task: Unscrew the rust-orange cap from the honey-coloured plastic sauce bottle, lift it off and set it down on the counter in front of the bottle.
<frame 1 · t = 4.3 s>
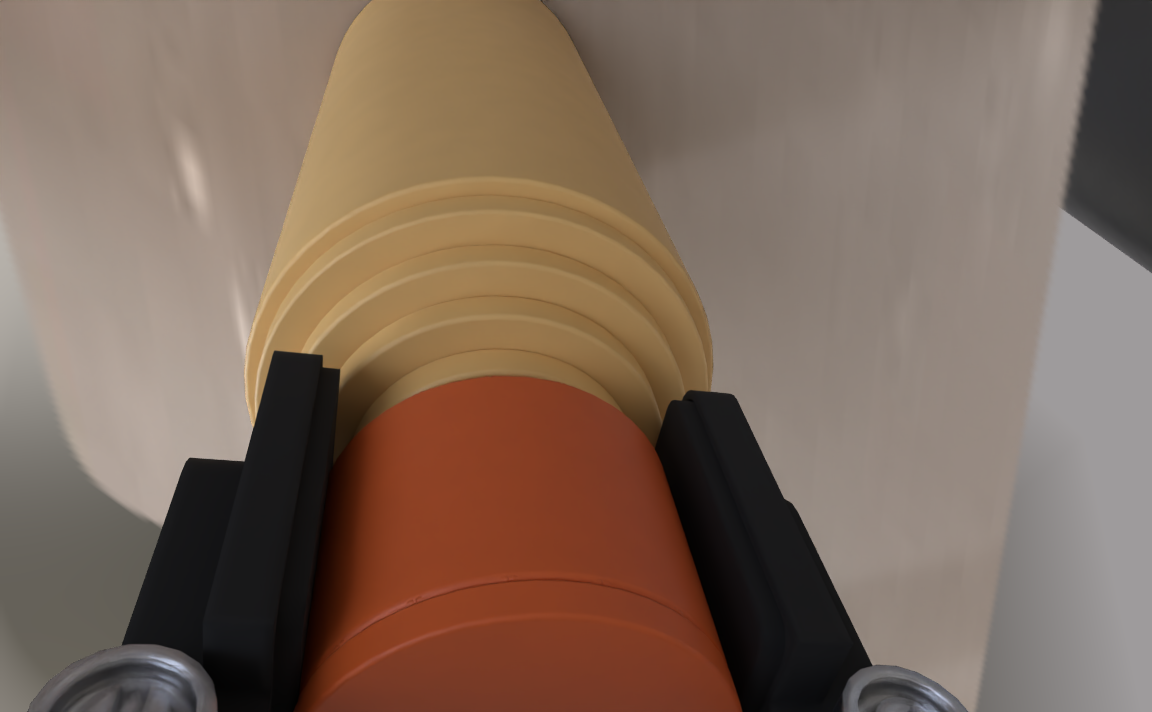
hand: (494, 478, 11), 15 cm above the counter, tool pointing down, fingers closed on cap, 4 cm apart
sauce bottle: (460, 102, 24), on the counter
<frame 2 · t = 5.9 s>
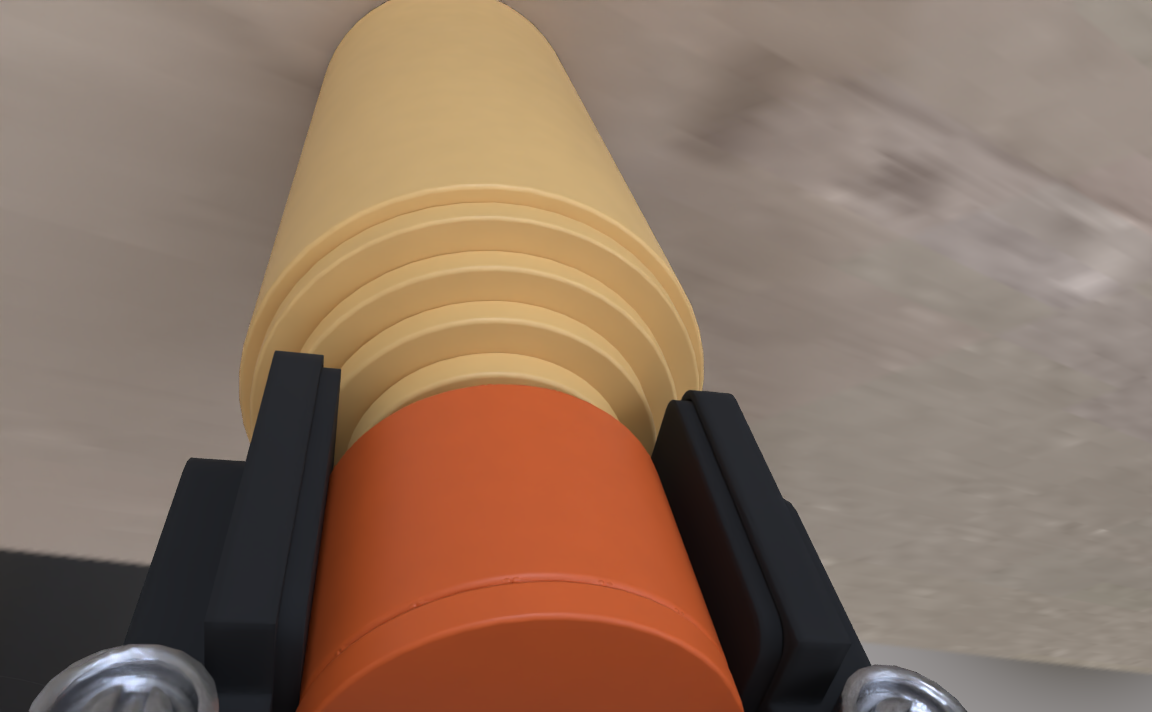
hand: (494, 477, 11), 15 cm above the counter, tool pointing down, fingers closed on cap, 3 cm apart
sauce bottle: (449, 120, 24), on the counter
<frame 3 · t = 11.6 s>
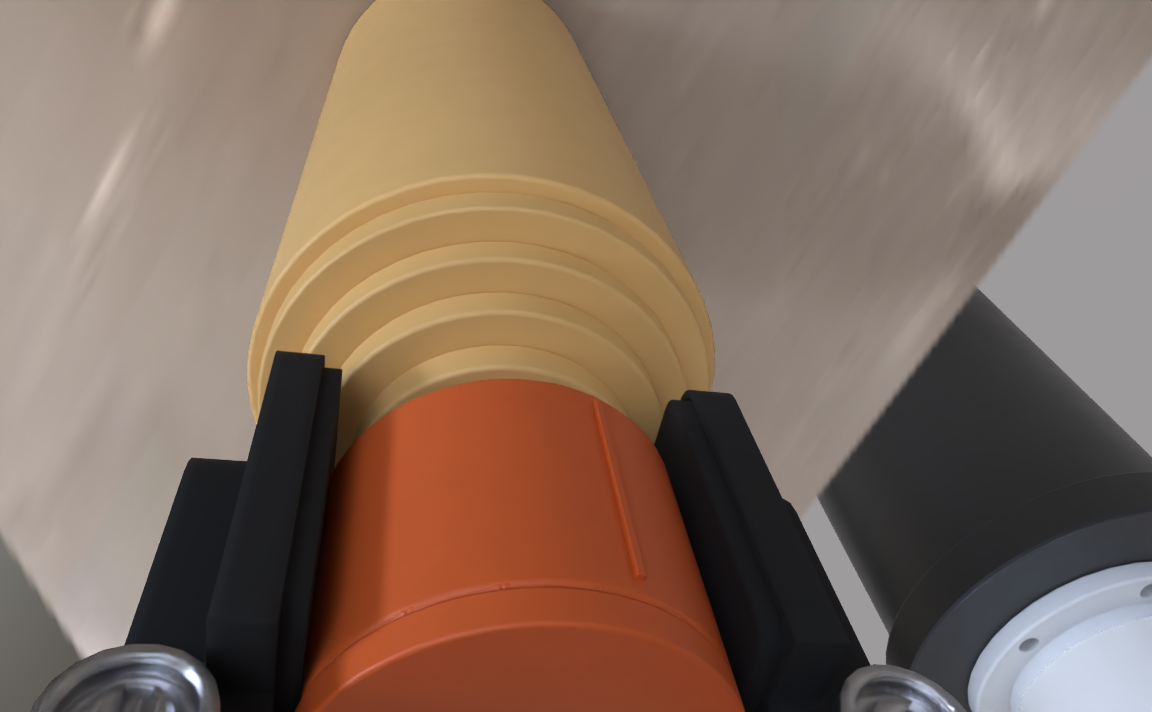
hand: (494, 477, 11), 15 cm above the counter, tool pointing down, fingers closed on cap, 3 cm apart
sauce bottle: (463, 103, 24), on the counter
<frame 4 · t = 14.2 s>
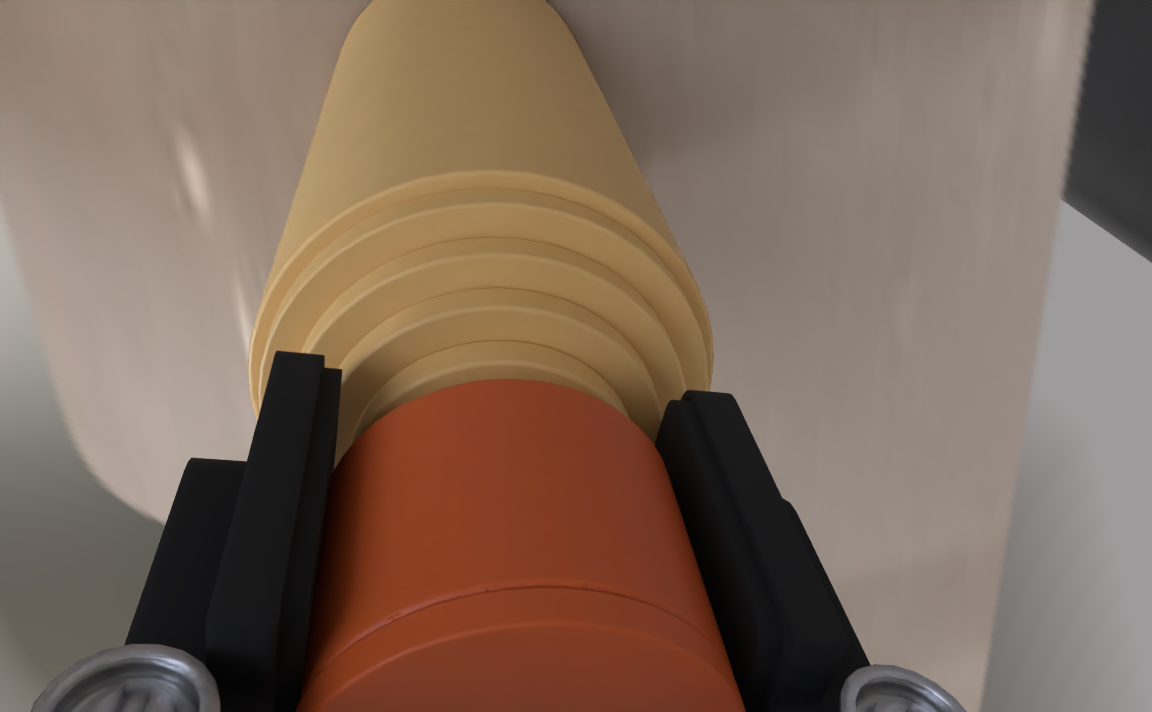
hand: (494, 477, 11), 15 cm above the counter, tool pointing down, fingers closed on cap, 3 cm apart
sauce bottle: (463, 100, 24), on the counter
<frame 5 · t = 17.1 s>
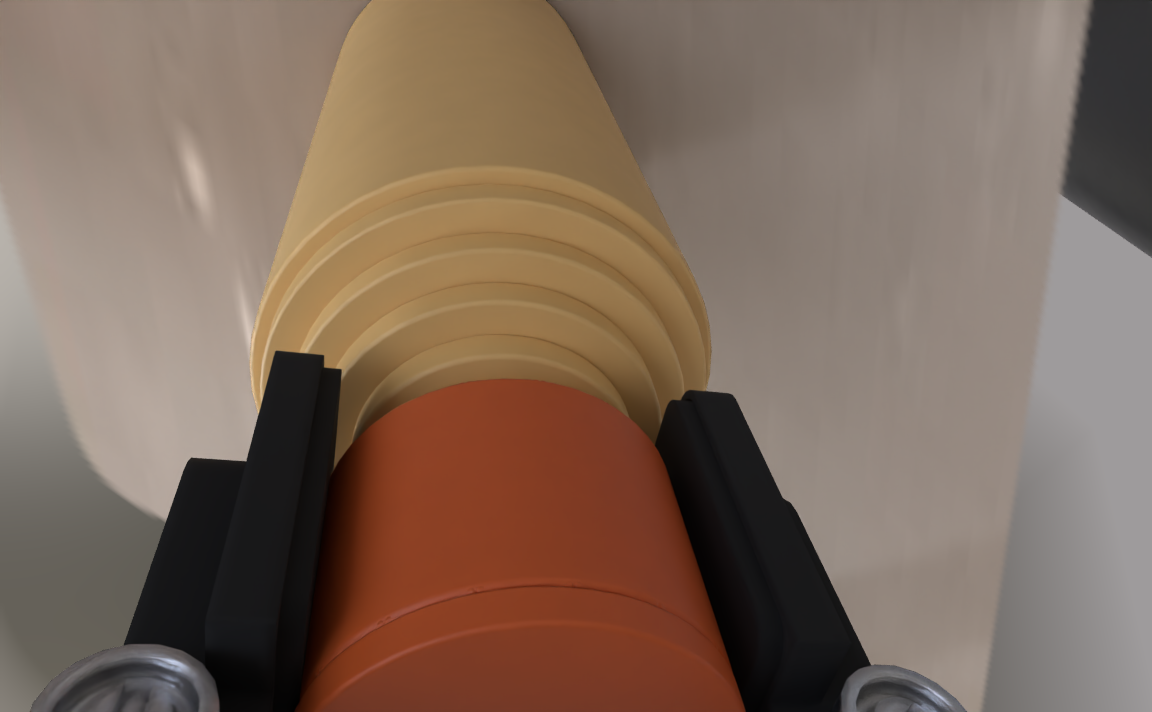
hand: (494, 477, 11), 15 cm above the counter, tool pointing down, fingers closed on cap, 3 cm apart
sauce bottle: (463, 98, 24), on the counter
when the fingers open (1 cm above the counter, at t = 26.2 s): cap drops 2 cm, point 3 cm above the counter.
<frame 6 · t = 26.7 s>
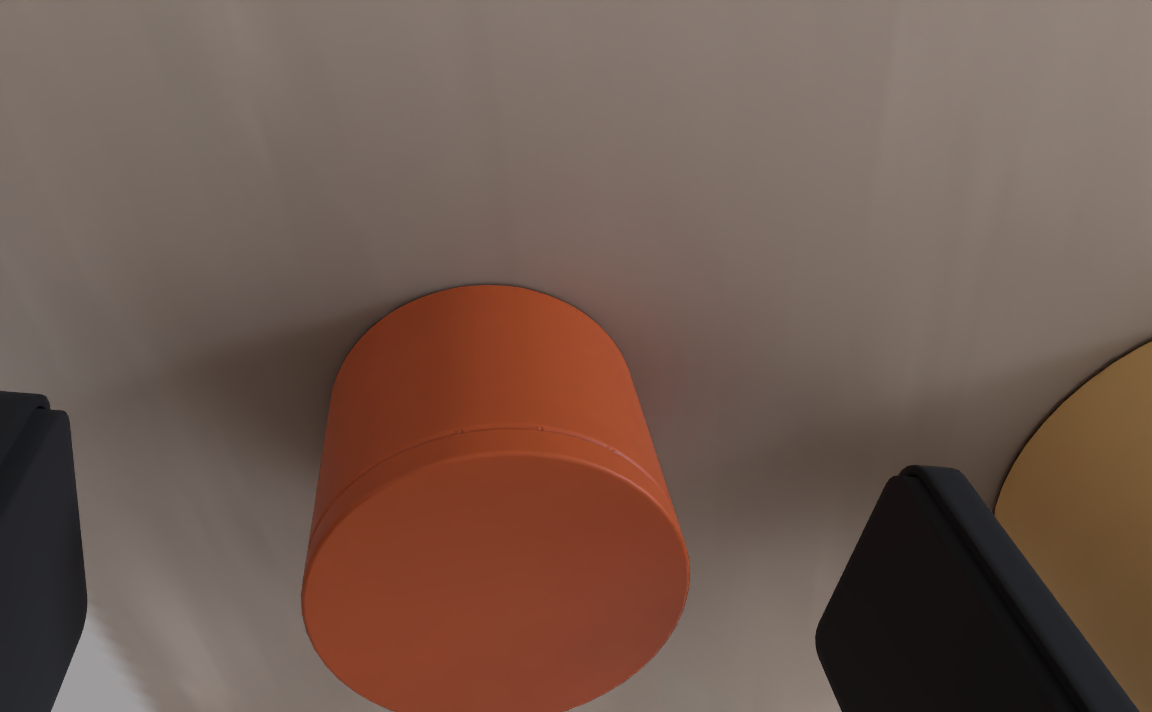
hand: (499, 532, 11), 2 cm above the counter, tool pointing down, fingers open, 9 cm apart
cap: (498, 576, 10), point 3 cm above the counter, off its thread
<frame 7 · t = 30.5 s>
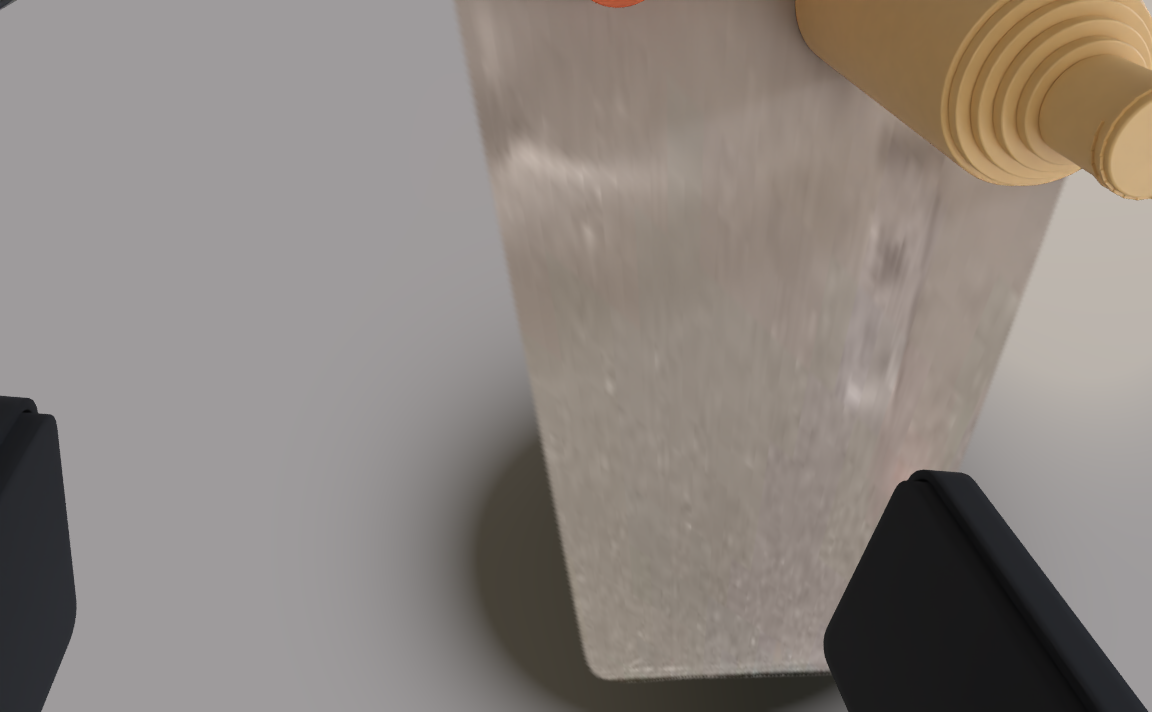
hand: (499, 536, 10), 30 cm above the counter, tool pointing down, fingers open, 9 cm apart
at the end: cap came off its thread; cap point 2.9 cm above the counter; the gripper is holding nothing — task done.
